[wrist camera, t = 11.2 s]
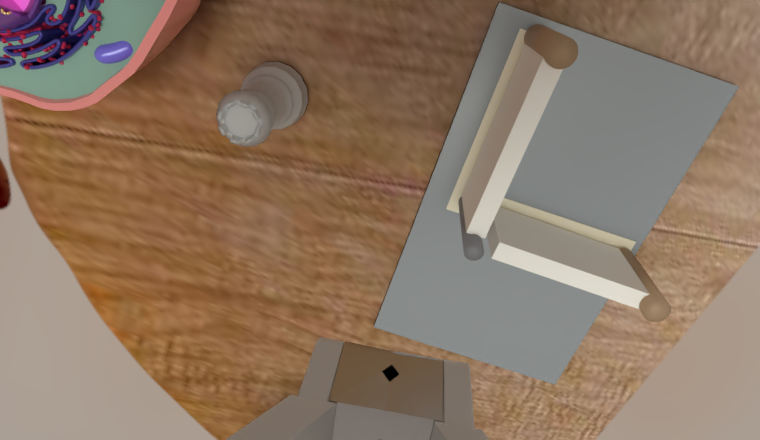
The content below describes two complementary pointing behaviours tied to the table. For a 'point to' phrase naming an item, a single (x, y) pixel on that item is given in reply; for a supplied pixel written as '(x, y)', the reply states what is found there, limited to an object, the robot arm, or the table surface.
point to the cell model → (81, 46)
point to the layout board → (548, 195)
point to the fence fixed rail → (512, 131)
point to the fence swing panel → (575, 262)
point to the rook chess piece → (262, 104)
